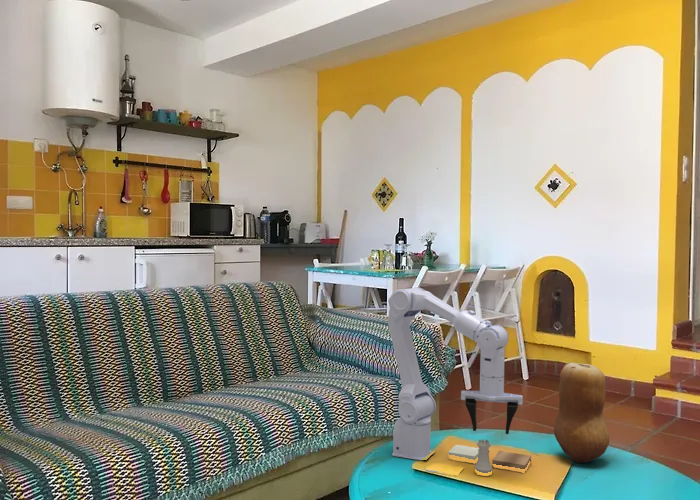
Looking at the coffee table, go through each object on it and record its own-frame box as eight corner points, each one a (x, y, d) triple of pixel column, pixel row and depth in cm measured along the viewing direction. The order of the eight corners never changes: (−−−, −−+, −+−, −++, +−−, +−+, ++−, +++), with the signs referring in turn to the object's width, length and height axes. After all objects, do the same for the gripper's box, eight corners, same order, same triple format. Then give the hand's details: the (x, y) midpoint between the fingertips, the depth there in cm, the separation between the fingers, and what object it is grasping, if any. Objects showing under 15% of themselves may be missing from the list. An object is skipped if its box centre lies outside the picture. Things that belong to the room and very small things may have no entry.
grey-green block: (448, 459, 158) (448, 452, 158) (455, 452, 165) (456, 444, 165) (475, 464, 155) (475, 456, 155) (481, 456, 162) (481, 448, 162)
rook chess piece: (493, 477, 146) (493, 444, 146) (474, 476, 147) (474, 442, 147) (492, 471, 151) (493, 438, 151) (474, 469, 151) (474, 437, 151)
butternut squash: (620, 466, 156) (621, 367, 156) (577, 471, 151) (579, 370, 151) (582, 449, 169) (583, 358, 169) (541, 454, 164) (543, 360, 164)
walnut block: (492, 467, 153) (492, 459, 153) (499, 458, 160) (499, 450, 160) (525, 473, 149) (525, 465, 149) (530, 463, 157) (530, 455, 157)
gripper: (460, 376, 147) (459, 433, 147) (523, 381, 143) (521, 439, 143) (462, 371, 154) (461, 425, 154) (522, 375, 150) (521, 430, 150)
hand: (490, 431), depth 149 cm, fingers open, 7 cm apart
